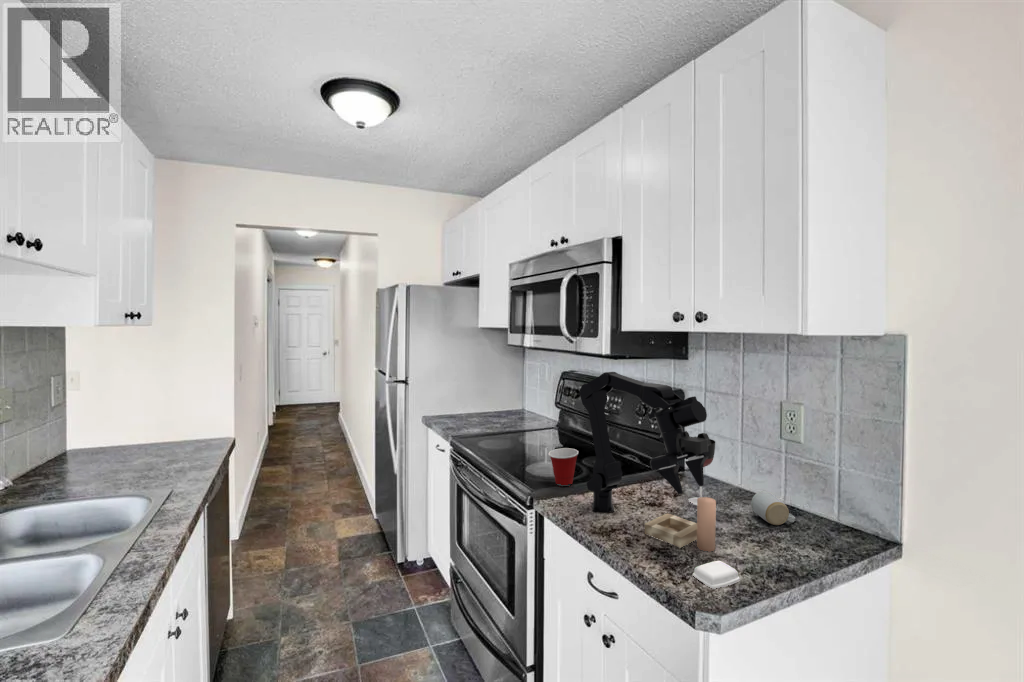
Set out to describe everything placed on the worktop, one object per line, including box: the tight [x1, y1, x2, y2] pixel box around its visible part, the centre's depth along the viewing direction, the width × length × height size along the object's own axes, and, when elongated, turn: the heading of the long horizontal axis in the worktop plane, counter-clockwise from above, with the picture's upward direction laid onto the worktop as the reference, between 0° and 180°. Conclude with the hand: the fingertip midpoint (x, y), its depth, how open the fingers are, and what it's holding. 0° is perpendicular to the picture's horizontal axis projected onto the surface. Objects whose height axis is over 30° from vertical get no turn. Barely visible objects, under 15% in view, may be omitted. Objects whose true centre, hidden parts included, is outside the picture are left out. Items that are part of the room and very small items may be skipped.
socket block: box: [644, 513, 697, 549], centre depth 132 cm, size 11×11×3 cm
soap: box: [692, 560, 741, 590], centre depth 111 cm, size 9×7×3 cm
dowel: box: [696, 496, 717, 553], centre depth 125 cm, size 4×4×12 cm
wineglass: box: [688, 438, 716, 506], centre depth 156 cm, size 8×9×20 cm
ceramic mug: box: [750, 490, 796, 526], centre depth 142 cm, size 11×8×8 cm
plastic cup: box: [548, 447, 579, 485], centre depth 173 cm, size 11×11×12 cm
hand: (691, 489), depth 126 cm, fingers open, 9 cm apart
